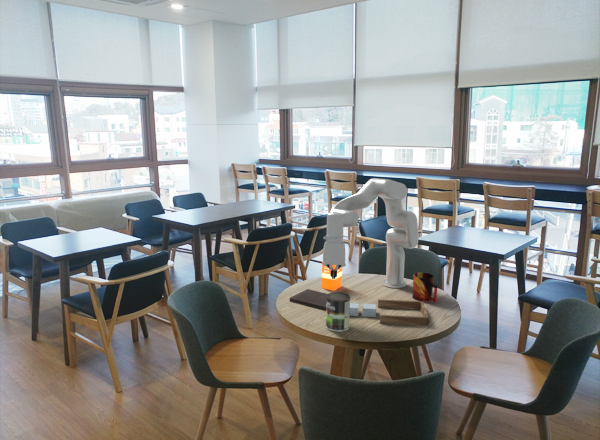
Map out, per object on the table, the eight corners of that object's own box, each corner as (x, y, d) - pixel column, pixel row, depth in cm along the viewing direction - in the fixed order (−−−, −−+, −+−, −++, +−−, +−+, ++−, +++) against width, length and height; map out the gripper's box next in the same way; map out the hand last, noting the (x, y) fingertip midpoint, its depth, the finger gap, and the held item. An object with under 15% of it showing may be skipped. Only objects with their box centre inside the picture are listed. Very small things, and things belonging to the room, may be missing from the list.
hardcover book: (307, 293, 246) (307, 288, 245) (345, 302, 233) (345, 298, 232) (289, 302, 233) (289, 297, 233) (328, 312, 220) (328, 308, 220)
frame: (377, 306, 226) (378, 299, 226) (422, 308, 224) (422, 301, 223) (380, 323, 207) (380, 315, 206) (428, 325, 205) (429, 318, 204)
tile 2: (362, 311, 221) (363, 303, 220) (375, 312, 220) (375, 304, 219) (362, 316, 215) (362, 308, 214) (375, 317, 214) (376, 309, 213)
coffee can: (334, 333, 196) (334, 302, 194) (321, 324, 205) (321, 294, 202) (354, 328, 201) (355, 297, 199) (340, 320, 210) (341, 290, 207)
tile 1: (345, 310, 222) (346, 302, 221) (358, 311, 221) (358, 303, 220) (344, 315, 216) (345, 307, 215) (357, 316, 215) (358, 308, 214)
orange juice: (342, 286, 255) (342, 250, 251) (334, 290, 248) (334, 254, 244) (329, 283, 259) (329, 248, 255) (321, 287, 252) (321, 252, 248)
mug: (435, 305, 228) (437, 281, 226) (409, 298, 237) (410, 276, 234) (443, 299, 236) (444, 276, 234) (417, 293, 244) (418, 271, 242)
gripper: (317, 240, 209) (316, 280, 213) (351, 242, 208) (349, 281, 211) (318, 236, 217) (318, 275, 220) (351, 238, 215) (350, 276, 218)
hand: (333, 278), depth 216 cm, fingers closed
